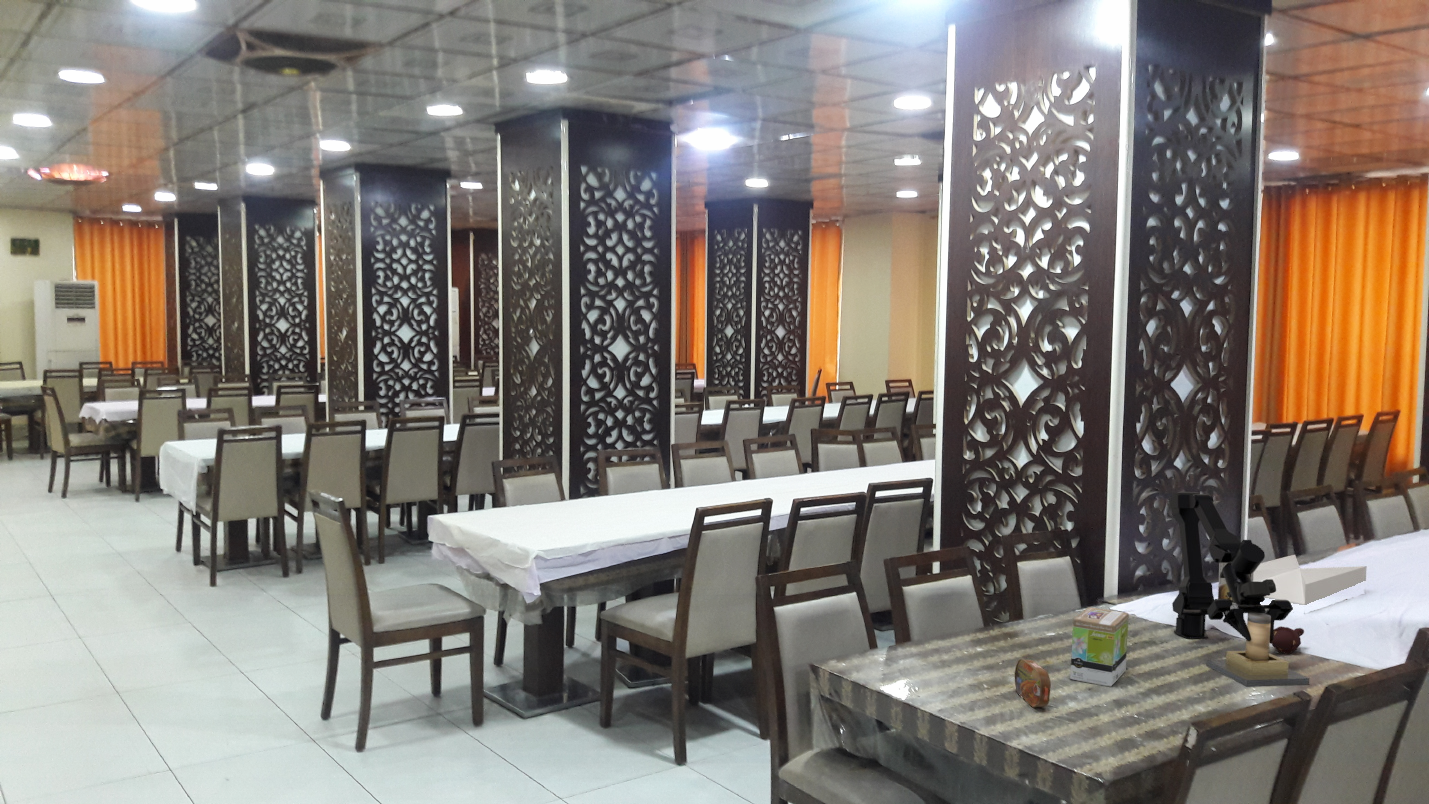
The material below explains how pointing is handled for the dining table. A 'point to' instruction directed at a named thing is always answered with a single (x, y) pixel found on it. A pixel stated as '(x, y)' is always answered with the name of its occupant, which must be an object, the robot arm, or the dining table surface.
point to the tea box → (1099, 646)
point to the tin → (1032, 683)
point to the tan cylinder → (1258, 636)
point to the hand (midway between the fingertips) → (1260, 640)
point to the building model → (1306, 580)
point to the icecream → (1287, 639)
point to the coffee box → (1225, 585)
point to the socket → (1257, 670)
